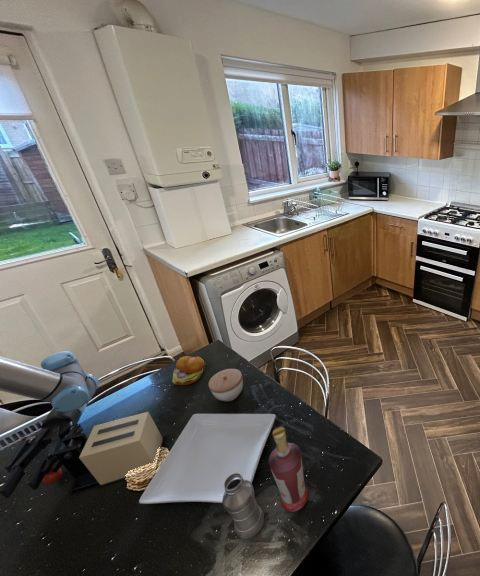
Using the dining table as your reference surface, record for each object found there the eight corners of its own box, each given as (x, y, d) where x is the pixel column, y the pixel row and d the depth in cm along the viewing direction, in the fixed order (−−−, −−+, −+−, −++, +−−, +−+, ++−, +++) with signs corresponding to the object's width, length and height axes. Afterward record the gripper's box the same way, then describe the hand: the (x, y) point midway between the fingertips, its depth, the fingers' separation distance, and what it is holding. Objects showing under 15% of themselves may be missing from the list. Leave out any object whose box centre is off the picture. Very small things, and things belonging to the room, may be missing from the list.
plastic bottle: (271, 521, 78) (255, 475, 68) (248, 549, 73) (228, 504, 63) (254, 506, 81) (237, 460, 71) (231, 532, 76) (209, 486, 66)
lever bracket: (72, 493, 83) (45, 462, 77) (86, 462, 91) (62, 432, 84) (100, 484, 85) (76, 454, 79) (111, 455, 93) (90, 425, 86)
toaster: (100, 486, 85) (77, 457, 79) (112, 453, 93) (93, 425, 87) (156, 468, 89) (139, 440, 83) (163, 438, 98) (148, 410, 91)
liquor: (313, 505, 81) (299, 437, 67) (285, 521, 78) (265, 453, 64) (304, 480, 87) (290, 413, 73) (278, 494, 83) (258, 426, 70)
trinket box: (211, 409, 107) (203, 390, 103) (217, 386, 116) (210, 368, 112) (244, 403, 110) (238, 384, 105) (247, 381, 119) (242, 362, 114)
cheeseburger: (169, 377, 120) (168, 355, 117) (200, 369, 127) (200, 348, 124) (175, 392, 113) (174, 369, 110) (207, 383, 121) (207, 361, 117)
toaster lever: (53, 488, 83) (33, 486, 81) (60, 474, 86) (41, 472, 84) (81, 451, 81) (62, 448, 79) (87, 438, 85) (69, 435, 82)
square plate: (247, 510, 80) (244, 502, 78) (141, 510, 80) (135, 502, 78) (278, 420, 104) (276, 412, 102) (196, 420, 103) (192, 412, 102)
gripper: (104, 415, 100) (70, 485, 81) (35, 432, 95) (-20, 512, 76) (94, 399, 96) (55, 468, 77) (20, 416, 91) (-40, 495, 72)
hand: (18, 490), depth 77 cm, fingers open, 5 cm apart
